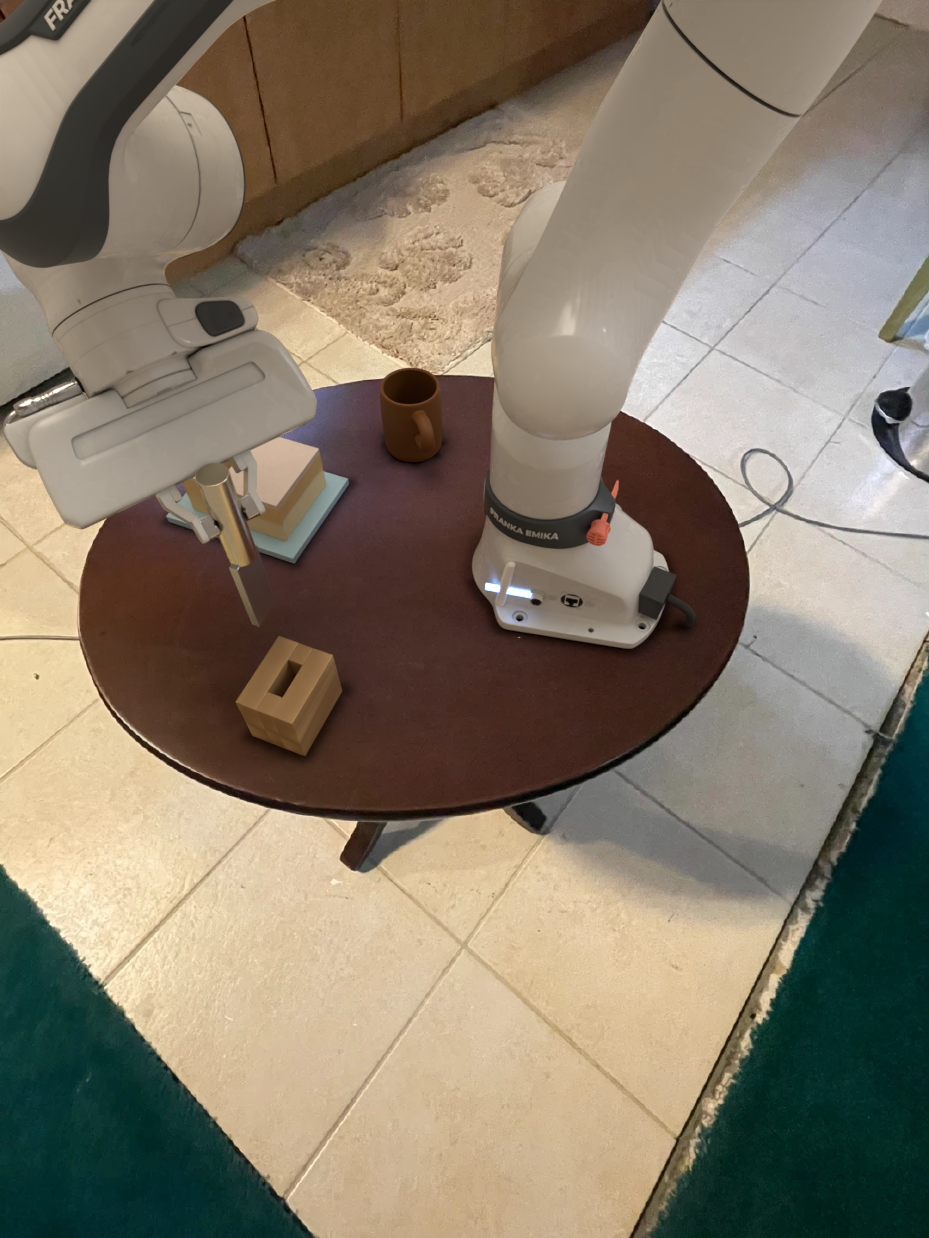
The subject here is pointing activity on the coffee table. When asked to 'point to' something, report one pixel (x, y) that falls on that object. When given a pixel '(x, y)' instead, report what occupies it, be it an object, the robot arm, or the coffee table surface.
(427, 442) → the mug
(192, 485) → the cake slice
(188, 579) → the coffee table surface
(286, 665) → the knife block
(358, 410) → the coffee table surface
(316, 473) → the cake
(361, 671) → the coffee table surface
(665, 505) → the coffee table surface
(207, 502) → the knife
